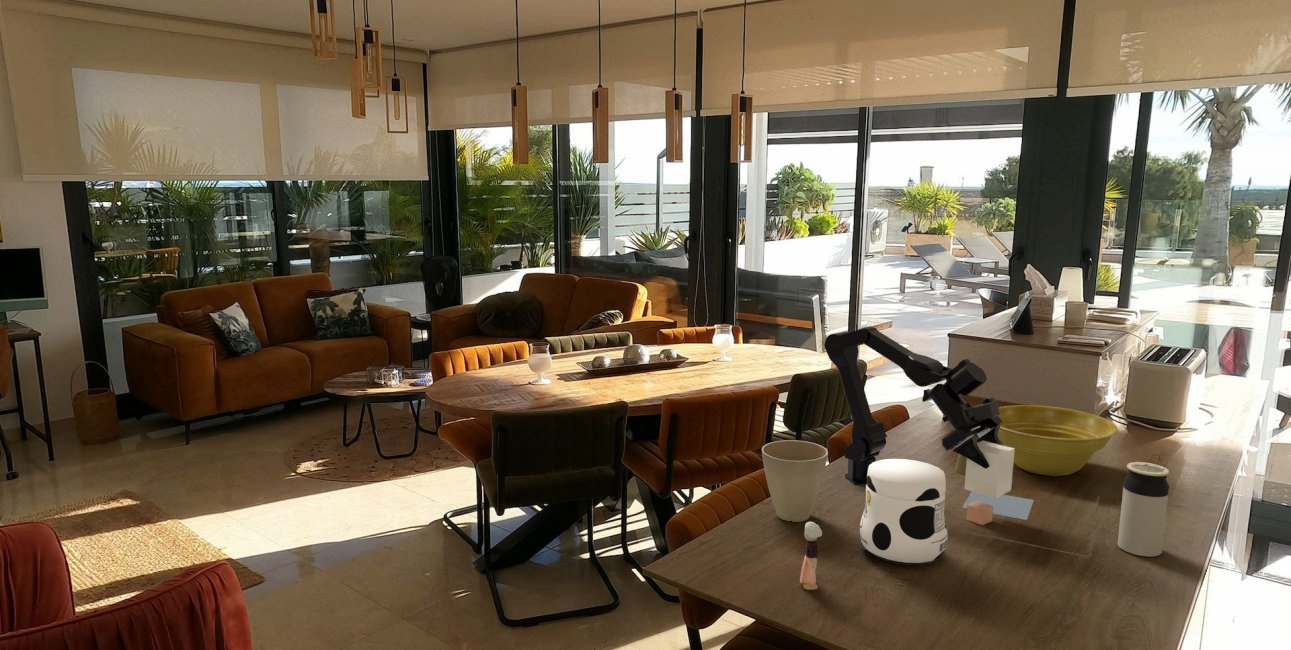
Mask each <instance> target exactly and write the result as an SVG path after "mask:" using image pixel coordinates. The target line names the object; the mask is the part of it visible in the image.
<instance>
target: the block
mask: <svg viewBox="0 0 1291 650" xmlns="http://www.w3.org/2000/svg"><path fill="white" fill-rule="evenodd" d="M993 516H994V514H993V506H991V505H988V504H985V503H982V502H979V501H976V502H973V503H971V504H968V505H967V509H966V517H965V519H966V521H969V522H972V523H975V524H978V525H981V526H984V525H986V524H988V523H991V522H993Z"/></svg>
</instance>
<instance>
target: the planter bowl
mask: <svg viewBox="0 0 1291 650" xmlns="http://www.w3.org/2000/svg"><path fill="white" fill-rule="evenodd" d="M999 412H1000V415H998V417H999V418H1000V419H1001V420H1002V423H1001V424H999V425H1000V428H999V430H998V439H999V442H1001V443H1002V445H1003V446H1007V447H1011V448H1015V450H1014V462H1013V464H1014V465H1016V466H1017V467H1018V468H1020V469H1021V468H1022V469H1021V470H1023V469H1024V471H1025V472H1029V473H1032V474H1037V475H1044V476H1049V477H1052V476H1053V477H1054V476H1055V477H1061V476H1064V477H1065V476H1069V475H1072V474H1074V473H1076V472H1078V471H1080V470H1081V469H1082V468H1083V467H1084V466H1085V465H1086V464H1087V463H1088V461H1089V460H1090V459H1091V458H1092V457H1093V456H1092V455H1094V453H1096V452H1097V451H1100V450H1101V449H1103V448H1105V447H1106V445H1107V444H1108V442H1109V441H1110V439H1111V437H1113V436H1114V435H1116V434H1117V433H1118V430H1119V429H1118V427H1117V425H1116V424H1115V423H1113V422H1112V421H1110V420H1109V419H1107V418H1104V417H1102V416H1099V415H1095V414H1092V413H1089V412H1085V411H1080V410H1076V409H1072V408H1065V407H1057V406H1048V405H1035V404H1033V405H1030V404H1027V405H1026V404H1022V405H1021V404H1019V405H1016V404H1015V405H1005V406H1000V407H999ZM999 425H998V426H999Z"/></svg>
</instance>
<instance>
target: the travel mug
mask: <svg viewBox="0 0 1291 650" xmlns="http://www.w3.org/2000/svg"><path fill="white" fill-rule="evenodd" d="M1126 468H1127V471H1128V474H1127V475H1126V476H1125V478H1124V479H1123V487H1122V497H1121V498H1122V500H1121V507H1120V516H1119V518H1120V519H1119V526H1118V527H1119V528H1118V537H1117V538H1118V539H1117V545H1118V548H1120V549H1122V550H1123V551H1125V552H1126V553H1128V554H1130V555H1134V556H1139V557H1143V558H1147V557H1148V558H1153V557H1157V556H1160V555H1162V552H1163V545H1164V535H1165V526H1166V518H1167V517H1166V516H1167V509H1168V500H1169V490H1170V486H1169V483H1168V481H1167V477H1168V475H1169V474H1170V471H1169V469H1168V468H1166V467H1164V466H1161V465H1159V464H1156V463H1150V462H1144V461H1143V462H1142V461H1135V462H1134V461H1132V462H1129V463H1127V465H1126Z"/></svg>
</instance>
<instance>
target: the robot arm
mask: <svg viewBox="0 0 1291 650" xmlns="http://www.w3.org/2000/svg"><path fill="white" fill-rule="evenodd" d="M823 345H824V346H823V347H824V351H825V352H826V354H827V357H828V359H829V361H831V363H832V364H833V365H834V366H835V367H836V368H837V370H838V373H839V377H840V380H841V384H842V387H843V390H844V395H845V397H846V401H847V404H848V408H849V411H850V415H851V419H852V426H851V434H850V435H851V441H852V442H851V444H849V445H848V446H847V447H845V448H844V449H843V456H844V458H845V459H847V473H844V477H845V478H846V479H847V480H849V481H851V483H852V484H854V485H862V484H867V473H868V468H869V465H870V464H872V463H873V462H876V461H877V458H876V457H877V456H879V455H880V454H881V451H882V450H883V449H884V448H885V446H886V445H887V438H888V435H887V433H886V431H885V426H884V422H883V421H880V422H877V420H876V419H875V418H874V417H873V416H872V412H871V408H870V405H869V402H868V398H867V394H866V392H865V387H864V385H863V382H862V380H863V379H862V378H861V374H860V371H859V367H858V359H859V353H860V352H859V346H863V345H865V346H867V347H868V348H870V349H871V350H873V351H875V352H876V353H878V354H879V355H881V356H882V357H884V358H885V359H887V360H889V361H890V362H892V363H894V364H895V365H896V366H898V367H899V368H900V369H902V371H903V372H904V373H905V376H906V377H907V378H908V379H910V380H911V381H912V383H914V384H915V385H916V386H918V387H922V388H923V387H927V386H931V385H935V386H933V387H932V388H927V389H924V390H923V396H922V402H923V403H924V402H925V403H926V402H927V401H931V400H932V401H933V403H934V404H935V405H936V407H937V408H938V410H939V411H940V412H941V413H942V415H943V417H942V418H941V419H942V421H943V422H944V423H946V422H948V424H950V426H951V428H953V430H952V431H950V432H949V434H947V435H946V436H944V437H943V438H942V439H941V445H942V447H943V448H944V450H945V451H946V452H949V451H950V450H952V452H953V453H956V454H957V455H958V454H960V455H962V456H964V457H966V458H968V459H970V460H971V461H973V462H975V463H977V464H978V465H980V466H982V467H983V468H985V469H986V468H988V467H989V464H988V462H987V460H986V458H985V457H984V455H983V453H982V452H981V450H980V449H979V447H978V445H977V442H978V443H979V442H981V441H986V442H991V443H995V444H999V445H1001V443H1000V442H1001V441H1000V440H999V439H998V430H999V428H1000V425H999V424H1001V423H1002V420H1001V419H1000V418H999V417H998V415H1000V412H999V407H1001V403H999V402H998V400H996V399H995V397H993V396H990V397H987V398H984V399H983V402H982V403H981V404H977V405H974V404H973V403H972V402H971V401H967V402H966V401H965V400H964V399H963V398H962V396H965V397H967V396H969V395H970V394H971V393H973V392H974V391H975V390H977V389H978V388H979V387H981V386H983V384H985V383H986V382H987V380H988V379H987V375H986V373H985V371H984V370H983V369H982V368H981V367H980V366H979V365H977V364H975V363H974V362H971V361H970V359H969V358H964V359H962V360H961V361H959V362H958V364H957V365H956V366H954V367H953V368H951V367H948V366H945V365H943V363H942V362H940V361H939V360H938V359H935V358H933V357H930V356H928V355H923V354H920V353H916V352H914V351H911V350H910V349H908V348H907V347H905V346H903V345H902V344H900V343H899V342H897V341H895V340H894V339H893V338H891V337H889V336H887V335H886V334H884V333H882V332H881V331H879V330H878V329H877V328H876V327H874V326H872V325H871V326H870V325H869V326H865V327H860V328H859V329H856V330H854V331H848V330H845V331H839V332H835V333H830V334H828V336H826V338H825V340H824V344H823ZM942 381H943V382H944V381H946V382H945V383H940V382H942ZM961 395H962V396H961ZM998 425H999V426H998ZM973 435H974V436H973ZM972 436H973V437H972ZM977 437H978V438H979V439H977Z"/></svg>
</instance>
